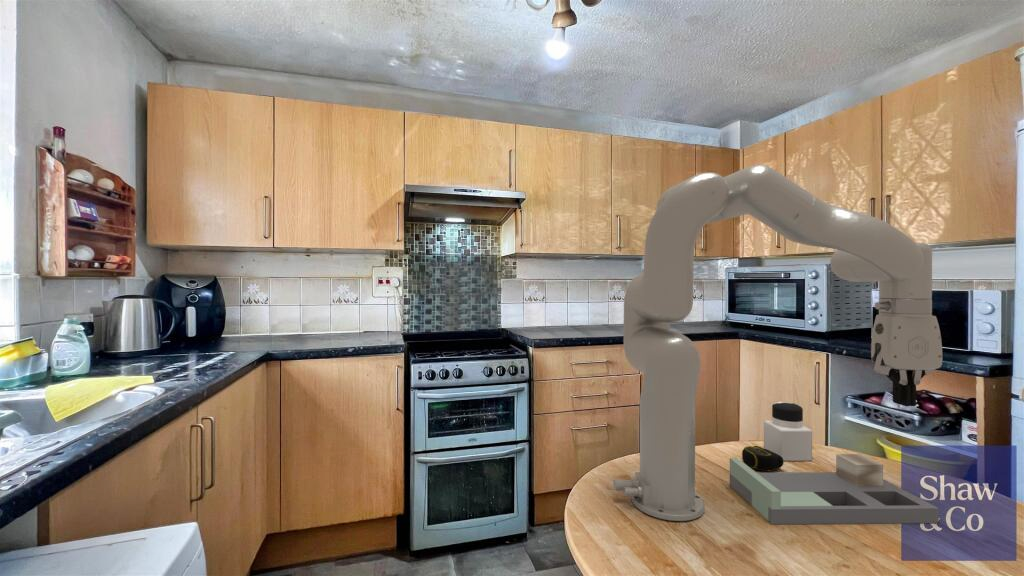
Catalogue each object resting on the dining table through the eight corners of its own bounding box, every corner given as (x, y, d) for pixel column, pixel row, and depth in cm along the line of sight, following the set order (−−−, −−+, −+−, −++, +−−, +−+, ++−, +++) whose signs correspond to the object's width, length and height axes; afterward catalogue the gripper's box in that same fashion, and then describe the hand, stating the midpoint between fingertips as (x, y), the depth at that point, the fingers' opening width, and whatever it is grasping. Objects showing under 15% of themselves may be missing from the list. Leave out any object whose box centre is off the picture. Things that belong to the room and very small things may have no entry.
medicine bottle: (812, 461, 99) (813, 408, 98) (780, 461, 99) (781, 408, 98) (792, 449, 106) (793, 399, 106) (763, 449, 106) (763, 399, 106)
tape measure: (785, 471, 94) (785, 454, 94) (760, 476, 92) (760, 458, 91) (758, 459, 100) (758, 443, 100) (734, 463, 98) (734, 446, 98)
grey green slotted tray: (771, 524, 73) (771, 491, 73) (729, 485, 87) (729, 457, 87) (938, 523, 73) (939, 490, 73) (869, 484, 87) (869, 457, 87)
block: (856, 486, 81) (856, 464, 81) (836, 474, 86) (836, 454, 86) (883, 486, 81) (883, 464, 81) (861, 474, 86) (861, 454, 86)
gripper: (882, 309, 79) (881, 410, 80) (964, 309, 80) (963, 409, 80) (850, 307, 87) (849, 399, 87) (925, 306, 87) (924, 398, 87)
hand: (904, 404), depth 83 cm, fingers closed
